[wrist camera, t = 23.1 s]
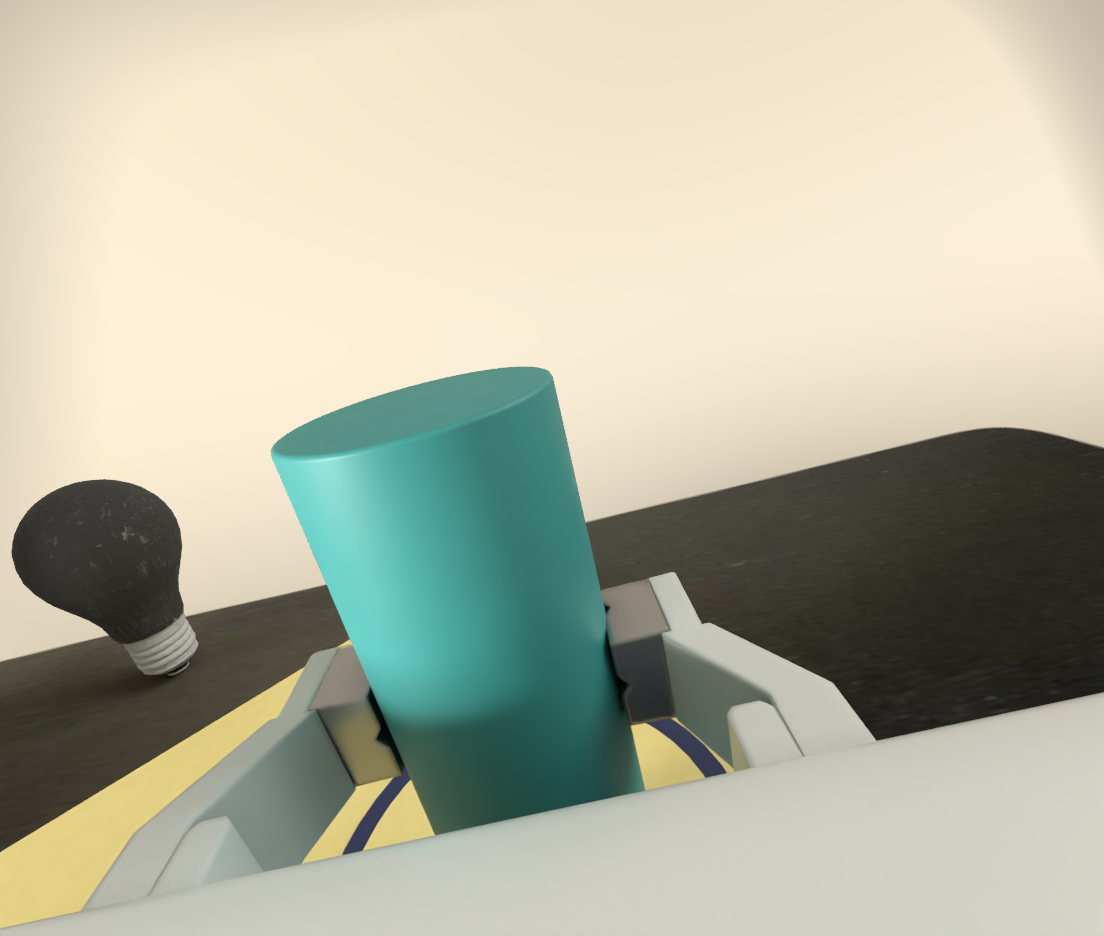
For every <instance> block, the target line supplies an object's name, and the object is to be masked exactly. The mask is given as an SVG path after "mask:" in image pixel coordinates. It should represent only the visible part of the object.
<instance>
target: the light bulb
mask: <svg viewBox="0 0 1104 936" xmlns="http://www.w3.org/2000/svg"><path fill="white" fill-rule="evenodd" d="M181 551H182V542H181V533H180V528H179V525H178V523H177V519H176V518H175V516H174V514H173V512H172V510H171V509H170V508H169V507H168V506H167V505H166V503H165V502H164V501H162V500H161V499H160V498H159V497H158V496H156V495H155V494H153V493H151V492H149V491H147V490H146V489H144V488H142V487H140V486H137V485H134V484H131V483H127V482H122V481H116V480H105V479H104V480H90V481H82V482H77V483H73V484H71V485H68V486H64V487H62V488H59V489H57V490H55V491H53V492H51V493H50V494H48V495H46V496H45V497H43V498H42V499H41V500H39V501H38V502H37V503H35V504H34V505H33V506H32V507H31V508H30V509H29V510H28V511H27V513H26V514H25V516H24V517H23V519H22V520H21V521H20V523H19V525H18V528H17V530H16V532H15V534H14V539H13V544H12V558H13V562H14V565H15V569H16V571H17V573H18V574H19V577H20V578H21V580H22V582H23V584H24V585H25V586H26V587H27V588H29V589H30V590H31V591H32V592H33V593H34V594H35V595H36V596H38V597H39V598H41V599H43V600H44V601H45V602H47V603H49V604H51V605H52V606H54V607H57V608H59V609H62V610H64V611H67V612H69V613H72V614H74V615H77V616H79V617H82V618H84V619H87V620H89V621H91V622H92V623H94V624H96V625H98V626H99V627H101V628H102V629H103V630H104V631H106V633H107V634H108V635H109V636H110V637H111V638H112V639H113V640H115V641H117V642H119V643H120V644H122V645H123V646H124V648H125V649H126V650H127V651H128V652H129V655H130V657H131V658H133V661H134V663H135V664H137V668H138V669H139V670H141V671H143V673H144V674H145V675H160V674H165V673H166V674H167V675H169V676H171V675H176V674H178V673H180V672H181V671H183V670H184V669H186V668H187V666H188V665H189V659H190V658H191V657H192V656H193V654H194V652H195V650H196V649H197V647H198V641H197V640H196V639H195V633H194V631H192V628H191V626H190V625H189V624H188V623H189V622H188V621H187V619H185V615H184V612H183V602H182V599H181V595H180V592H179V587H178V586H179V584H178V575H179V568H180V559H181Z"/></svg>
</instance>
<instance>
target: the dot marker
mask: <svg viewBox="0 0 1104 936" xmlns="http://www.w3.org/2000/svg"><path fill="white" fill-rule="evenodd" d="M271 456H272V459H273V462H274V464H275V466H276V468H277V471H278V473H279V475H280V478H281V480H282V482H283V485H284V487H285V489H286V492H287V494H288V496H289V499H290V501H291V503H292V506H293V508H294V510H295V512H296V515H297V517H298V519H299V522H300V524H301V526H302V529H303V531H304V533H305V536H306V538H307V540H308V543H309V545H310V547H311V550H312V552H313V554H314V556H315V559H316V561H317V563H318V566H319V568H320V570H321V572H322V575H323V577H324V580H325V582H326V584H327V587H328V589H329V591H330V594H331V596H332V598H333V600H334V603H335V605H336V607H337V610H338V612H339V614H340V617H341V619H342V621H343V624H344V626H345V628H346V631H347V633H348V635H349V637H350V640H351V642H352V644H353V647H354V649H355V651H356V654H357V656H358V658H359V661H360V663H361V665H362V668H363V670H364V672H365V675H366V677H367V679H368V681H369V684H370V686H371V688H372V691H373V693H374V695H375V698H376V700H377V702H378V705H379V707H380V709H381V712H382V714H383V716H384V719H385V721H386V723H387V725H388V728H389V730H390V732H391V735H392V737H393V739H394V742H395V744H396V746H397V749H398V751H399V753H400V756H401V758H402V760H403V763H404V765H405V767H406V769H407V772H408V774H409V776H410V779H411V781H412V783H413V786H414V788H415V790H416V793H417V795H418V797H419V800H420V802H421V804H422V806H423V809H424V811H425V813H426V816H427V818H428V820H429V823H430V825H431V827H432V830H433V832H434V834H435V835H439V834H443V833H448V832H453V831H457V830H462V829H467V828H471V827H476V826H481V825H485V824H490V823H495V822H499V821H504V820H509V819H513V818H518V817H523V816H527V815H532V814H537V813H541V812H546V811H551V810H556V809H560V808H565V807H570V806H575V805H579V804H584V803H589V802H593V801H598V800H603V799H608V798H612V797H617V796H622V795H627V794H631V793H636V792H641V791H645V786H644V782H643V777H642V773H641V769H640V764H639V760H638V755H637V751H636V746H635V742H634V737H633V733H632V728H631V726H629V725H628V721H627V717H626V713H625V709H624V705H623V701H622V696H621V692H620V688H619V684H618V676H617V674H616V670H615V666H614V662H613V657H612V653H611V648H610V643H609V639H608V634H607V630H606V612H605V608H604V604H603V599H602V595H601V590H600V586H599V581H598V577H597V572H596V568H595V563H594V559H593V554H592V550H591V546H590V541H589V537H588V532H587V528H586V523H585V519H584V514H583V510H582V505H581V501H580V496H579V492H578V488H577V483H576V479H575V475H574V470H573V465H572V461H571V457H570V452H569V447H568V443H567V438H566V434H565V430H564V425H563V421H562V416H561V412H560V408H559V403H558V398H557V394H556V390H555V385H554V381H553V377H552V375H551V374H550V372H549V371H547V370H545V369H542V368H536V367H508V368H498V369H491V370H484V371H477V372H472V373H466V374H462V375H456V376H451V377H447V378H443V379H438V380H434V381H430V382H426V383H422V384H418V385H414V386H410V387H407V388H403V389H400V390H396V391H393V392H389V393H386V394H383V395H379V396H377V397H373V398H370V399H367V400H364V401H361V402H358V403H355V404H352V405H350V406H347V407H344V408H342V409H339V410H336V411H334V412H331V413H329V414H326V415H324V416H321V417H319V418H317V419H315V420H312V421H310V422H308V423H306V424H304V425H302V426H300V427H298V428H296V429H295V430H293V431H291V432H290V433H288V434H286V435H285V436H284V437H282V438H281V439H280V440H278V441H277V442H276V443H275V444H274V445H273V447H272V449H271Z"/></svg>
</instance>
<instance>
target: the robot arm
mask: <svg viewBox="0 0 1104 936" xmlns="http://www.w3.org/2000/svg"><path fill="white" fill-rule="evenodd" d="M601 595H602V599H603V604H604V608H605V612H606V630H607V634H608V639H609V643H610V648H611V653H612V657H613V662H614V666H615V670H616V674H617V676H618V684H619V688H620V692H621V696H622V701H623V705H624V709H625V713H626V717H627V721H628V725H629V726H633V725H638V724H643V723H649V722H654V721H659V720H665V719H670V718H676V717H677V720H678V721H679V722H680V723H682V724H683V725H684V726H685V727H686V728H687V729H688V730H690V731H691V732H692V733H693V734H694V735H695V736H696V737H698V738H699V739H700V740H701V741H702V742H703V743H705V744H706V745H707V746H708V747H709V748H710V749H711V750H713V751H714V752H715V753H716V754H717V755H718V756H719V757H721V758H722V759H723V760H724V761H725V762H726V763H728V764H729V765H730V766H731V767H732V768H733V769H734V772H730V773H726V774H721V775H716V776H712V777H707V778H702V779H698V780H693V781H688V782H683V783H679V784H674V785H669V786H664V787H660V788H655V789H650V790H646V791H641V792H636V793H631V794H627V795H622V796H617V797H612V798H608V799H603V800H598V801H593V802H589V803H584V804H579V805H575V806H570V807H565V808H560V809H556V810H551V811H546V812H541V813H537V814H532V815H527V816H523V817H518V818H513V819H509V820H504V821H499V822H495V823H490V824H485V825H481V826H476V827H471V828H467V829H462V830H457V831H453V832H448V833H443V834H439V835H434V836H429V837H425V838H420V839H415V840H411V841H406V842H401V843H397V844H392V845H387V846H383V847H378V848H373V849H369V850H364V851H360V852H355V853H350V854H346V855H341V856H336V857H332V858H327V859H322V860H318V861H313V862H308V863H304V864H301V863H302V862H303V860H304V859H305V858H306V856H307V855H308V853H309V852H310V851H311V849H312V848H313V847H314V845H315V844H316V843H317V841H318V840H319V839H320V837H321V836H322V835H323V833H324V832H325V831H326V829H327V828H328V827H329V825H330V824H331V823H332V821H333V820H334V818H335V817H336V816H337V814H338V813H339V812H340V810H341V809H342V808H343V806H344V805H345V804H346V802H347V801H348V800H349V798H350V797H351V796H352V794H353V793H354V792H355V790H356V788H355V787H357V786H361V785H365V784H369V783H373V782H377V781H381V780H385V779H389V778H393V777H397V776H401V775H403V771H404V766H405V765H404V763H403V760H402V758H401V756H400V753H399V751H398V749H397V746H396V744H395V742H394V739H393V737H392V735H391V732H390V730H389V728H388V725H387V723H386V721H385V719H384V716H383V714H382V712H381V709H380V707H379V705H378V702H377V700H376V698H375V695H374V693H373V691H372V688H371V686H370V684H369V681H368V679H367V677H366V675H365V672H364V670H363V668H362V665H361V663H360V661H359V658H358V656H357V654H356V651H355V649H354V647H353V644H351V645H346V646H342V647H336V648H332V649H328V650H323V651H319V652H316V653H315V654H313V655H311V657H310V659H309V661H308V662H307V664H306V666H305V668H304V670H303V672H302V674H301V675H300V677H299V679H298V681H297V683H296V685H295V687H294V688H293V690H292V692H291V694H290V696H289V698H288V700H287V701H286V703H285V705H284V707H283V709H282V711H281V713H280V714H279V716H278V718H275V719H271V720H268V721H267V722H266V723H265V724H264V725H262V726H261V727H260V728H259V729H258V730H256V731H255V732H254V733H253V734H252V735H250V736H249V737H248V738H247V739H246V740H244V741H243V742H242V743H241V744H240V745H239V746H237V747H236V748H235V749H234V750H233V751H231V752H230V753H229V754H228V755H227V756H225V757H224V758H223V759H222V760H221V761H219V762H218V763H217V764H216V765H215V766H213V767H212V768H211V769H210V770H209V771H207V772H206V773H205V774H204V775H203V776H201V777H200V778H199V779H198V780H197V781H195V782H194V783H193V784H192V785H191V786H189V787H188V788H187V789H186V790H185V791H183V792H182V793H181V794H180V795H179V796H177V797H176V798H175V799H174V800H173V801H171V802H170V803H169V804H168V805H167V806H165V807H164V808H163V809H162V810H161V811H159V812H158V813H157V814H156V815H155V816H153V817H152V818H151V819H150V820H149V821H147V822H146V823H145V824H144V825H143V826H142V827H140V828H139V829H138V830H137V831H136V832H134V833H133V834H132V836H131V837H130V839H129V840H128V842H127V843H126V845H125V846H124V848H123V849H122V851H121V852H120V854H119V855H118V856H117V858H116V859H115V861H114V862H113V864H112V865H111V867H110V868H109V870H108V871H107V873H106V874H105V876H104V877H103V878H102V880H101V881H100V883H99V884H98V886H97V887H96V889H95V890H94V892H93V893H92V895H91V896H90V898H89V899H88V901H87V902H86V903H85V905H84V906H83V908H82V909H81V911H79V912H74V913H69V914H65V915H60V916H55V917H51V918H46V919H41V920H37V921H32V922H27V923H23V924H18V925H13V926H8V927H4V928H0V936H1104V692H1103V693H1099V694H1094V695H1089V696H1085V697H1080V698H1075V699H1071V700H1066V701H1061V702H1057V703H1052V704H1047V705H1043V706H1038V707H1033V708H1029V709H1024V710H1019V711H1014V712H1010V713H1005V714H1000V715H996V716H991V717H986V718H982V719H977V720H972V721H968V722H963V723H958V724H954V725H949V726H944V727H940V728H935V729H930V730H925V731H921V732H916V733H911V734H907V735H902V736H897V737H893V738H888V739H883V740H879V741H876V740H875V738H874V737H873V736H872V734H871V733H870V732H869V730H868V729H867V728H866V726H865V725H864V724H863V722H862V721H861V720H860V718H859V717H858V716H857V714H856V713H855V712H854V710H853V709H852V708H851V706H850V705H849V704H848V702H847V701H846V700H845V698H844V697H843V696H842V694H841V693H840V692H839V690H838V689H837V688H836V686H835V685H834V684H833V683H832V682H830V681H828V680H826V679H824V678H822V677H820V676H818V675H816V674H814V673H812V672H810V671H808V670H806V669H803V668H801V667H799V666H797V665H795V664H793V663H791V662H789V661H787V660H785V659H783V658H781V657H779V656H777V655H775V654H773V653H771V652H769V651H767V650H765V649H763V648H761V647H759V646H756V645H754V644H752V643H750V642H748V641H746V640H744V639H742V638H740V637H738V636H736V635H734V634H732V633H730V632H728V631H726V630H724V629H722V628H720V627H718V626H716V625H714V624H711V623H705V624H701V622H700V620H699V618H698V616H697V614H696V612H695V610H694V608H693V606H692V604H691V602H690V600H689V598H688V596H687V595H686V593H685V591H684V589H683V587H682V585H681V583H680V581H679V579H678V577H677V575H676V574H675V573H673V572H671V573H667V574H663V575H659V576H655V577H651V578H648V579H646V580H642V581H637V582H633V583H629V584H625V585H621V586H616V587H612V588H608V589H604V590H601Z"/></svg>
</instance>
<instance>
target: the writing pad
mask: <svg viewBox="0 0 1104 936" xmlns="http://www.w3.org/2000/svg"><path fill="white" fill-rule="evenodd" d="M351 644H352V642H351V640H348V641H347V642H345V643H343V644H342V645H340V646H338V647H342V646H346V645H351ZM304 668H305V667H304ZM304 668H302V669H301V670H299V671H297V672H296V673H294V674H292V675H291V676H289V677H287V678H286V679H284V680H283V681H281V682H279V683H278V684H276V685H274V686H273V687H271V688H269V689H268V690H266V691H264V692H263V693H261V694H260V695H258V696H256V697H255V698H253V699H251V700H250V701H248V702H246V703H245V704H243V705H241V706H240V707H238V708H237V709H235V710H233V711H232V712H230V713H228V714H227V715H225V716H223V717H222V718H220V719H218V720H217V721H215V722H214V723H212V724H210V725H209V726H207V727H205V728H204V729H202V730H200V731H199V732H197V733H195V734H194V735H192V736H191V737H189V738H187V739H186V740H184V741H182V742H181V743H179V744H177V745H176V746H174V747H173V748H171V749H169V750H168V751H166V752H164V753H163V754H161V755H159V756H158V757H156V758H154V759H153V760H151V761H150V762H148V763H146V764H145V765H143V766H141V767H140V768H138V769H136V770H135V771H133V772H131V773H130V774H128V775H127V776H125V777H123V778H122V779H120V780H118V781H117V782H115V783H113V784H112V785H110V786H108V787H107V788H105V789H104V790H102V791H100V792H99V793H97V794H95V795H94V796H92V797H90V798H89V799H87V800H85V801H84V802H82V803H81V804H79V805H77V806H76V807H74V808H72V809H71V810H69V811H67V812H66V813H64V814H62V815H61V816H59V817H58V818H56V819H54V820H53V821H51V822H49V823H48V824H46V825H44V826H43V827H41V828H40V829H38V830H36V831H35V832H33V833H31V834H30V835H28V836H26V837H25V838H23V839H21V840H20V841H18V842H17V843H15V844H13V845H12V846H10V847H8V848H7V849H5V850H3V851H2V852H0V928H4V927H8V926H13V925H18V924H23V923H27V922H32V921H37V920H41V919H46V918H51V917H55V916H60V915H65V914H69V913H74V912H79V911H81V909H82V908H83V906H84V905H85V903H86V902H87V901H88V899H89V898H90V896H91V895H92V893H93V892H94V890H95V889H96V887H97V886H98V884H99V883H100V881H101V880H102V878H103V877H104V876H105V874H106V873H107V871H108V870H109V868H110V867H111V865H112V864H113V862H114V861H115V859H116V858H117V856H118V855H119V854H120V852H121V851H122V849H123V848H124V846H125V845H126V843H127V842H128V840H129V839H130V837H131V836H132V834H133V833H134V832H136V831H137V830H138V829H139V828H140V827H142V826H143V825H144V824H145V823H146V822H147V821H149V820H150V819H151V818H152V817H153V816H155V815H156V814H157V813H158V812H159V811H161V810H162V809H163V808H164V807H165V806H167V805H168V804H169V803H170V802H171V801H173V800H174V799H175V798H176V797H177V796H179V795H180V794H181V793H182V792H183V791H185V790H186V789H187V788H188V787H189V786H191V785H192V784H193V783H194V782H195V781H197V780H198V779H199V778H200V777H201V776H203V775H204V774H205V773H206V772H207V771H209V770H210V769H211V768H212V767H213V766H215V765H216V764H217V763H218V762H219V761H221V760H222V759H223V758H224V757H225V756H227V755H228V754H229V753H230V752H231V751H233V750H234V749H235V748H236V747H237V746H239V745H240V744H241V743H242V742H243V741H244V740H246V739H247V738H248V737H249V736H250V735H252V734H253V733H254V732H255V731H256V730H258V729H259V728H260V727H261V726H262V725H264V724H265V723H266V722H267V721H268V720H271V719H275V718H278V716H279V714H280V713H281V711H282V709H283V707H284V705H285V703H286V701H287V700H288V698H289V696H290V694H291V692H292V690H293V688H294V687H295V685H296V683H297V681H298V679H299V677H300V675H301V674H302V672H303V670H304ZM631 728H632V733H633V737H634V742H635V746H636V751H637V755H638V760H639V764H640V769H641V773H642V777H643V782H644V786H645V791H646V790H650V789H655V788H660V787H664V786H669V785H674V784H679V783H683V782H688V781H693V780H698V779H702V778H707V777H712V776H716V775H721V774H726V773H730V772H734V769H733V768H732V767H731V766H730V765H729V764H728V763H726V762H725V761H724V760H723V759H722V758H721V757H719V756H718V755H717V754H716V753H715V752H714V751H713V750H711V749H710V748H709V747H708V746H707V745H706V744H705V743H703V742H702V741H701V740H700V739H699V738H698V737H696V736H695V735H694V734H693V733H692V732H691V731H690V730H688V729H687V728H686V727H685V726H684V725H683V724H682V723H680V722H679V721H678V720H677V717H676V718H670V719H665V720H659V721H654V722H649V723H643V724H638V725H633V726H631ZM355 788H356V790H355V792H354V793H353V794H352V796H351V797H350V798H349V800H348V801H347V802H346V804H345V805H344V806H343V808H342V809H341V810H340V812H339V813H338V814H337V816H336V817H335V818H334V820H333V821H332V823H331V824H330V825H329V827H328V828H327V829H326V831H325V832H324V833H323V835H322V836H321V837H320V839H319V840H318V841H317V843H316V844H315V845H314V847H313V848H312V849H311V851H310V852H309V853H308V855H307V856H306V858H305V859H304V860H303V862H302V863H301V864H304V863H308V862H313V861H318V860H322V859H327V858H332V857H336V856H341V855H346V854H350V853H355V852H360V851H364V850H369V849H373V848H378V847H383V846H387V845H392V844H397V843H401V842H406V841H411V840H415V839H420V838H425V837H429V836H434V835H435V834H434V832H433V830H432V827H431V825H430V823H429V820H428V818H427V816H426V813H425V811H424V809H423V806H422V804H421V802H420V800H419V797H418V795H417V793H416V790H415V788H414V786H413V783H412V781H411V779H410V776H409V774H408V772H407V769H406V767H405V766H404V771H403V775H401V776H397V777H393V778H389V779H385V780H381V781H377V782H373V783H369V784H365V785H361V786H357V787H355Z"/></svg>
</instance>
